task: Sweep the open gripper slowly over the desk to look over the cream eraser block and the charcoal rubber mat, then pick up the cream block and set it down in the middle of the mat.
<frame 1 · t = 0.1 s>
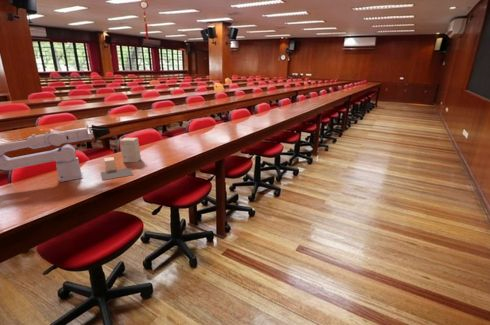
hand: (109, 129, 136), 22 cm above the table, tool horizontal, fingers open, 7 cm apart
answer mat: (116, 173, 138), on the table
small box: (132, 161, 158), on the table
eraser block: (110, 168, 145), on the table
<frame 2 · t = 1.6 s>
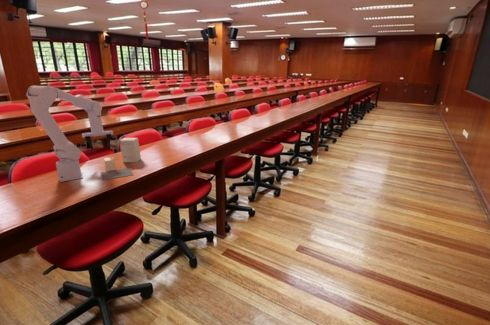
hand: (100, 149, 147), 9 cm above the table, tool pointing down, fingers open, 7 cm apart
nothing on the table moved.
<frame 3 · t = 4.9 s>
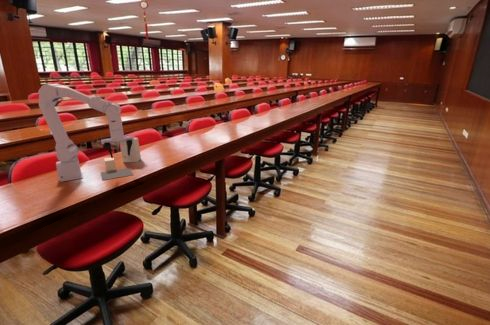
hand: (120, 156, 134), 9 cm above the table, tool pointing down, fingers open, 7 cm apart
nothing on the table moved.
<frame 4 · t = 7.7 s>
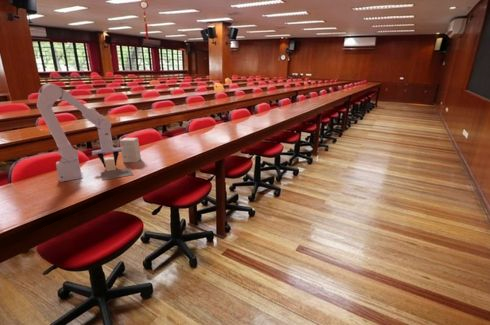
hand: (110, 166, 145), 1 cm above the table, tool pointing down, fingers closed on eraser block, 4 cm apart
eraser block: (110, 168, 145), on the table, touching gripper
everything else where it was.
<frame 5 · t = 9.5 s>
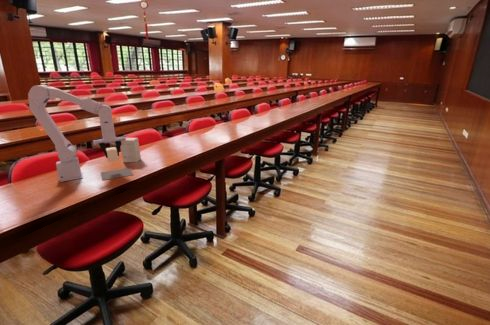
hand: (112, 156, 137), 8 cm above the table, tool pointing down, fingers closed on eraser block, 4 cm apart
eraser block: (112, 159, 138), point 7 cm above the table, touching gripper
everything else where it was.
when the fingers open (3 cm above the table, at t = 11.2 s): eraser block drops 1 cm, resting on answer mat.
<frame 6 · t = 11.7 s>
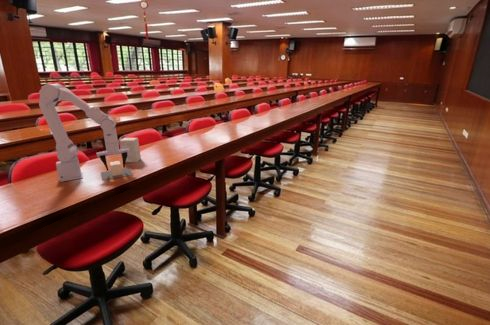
hand: (115, 168, 137), 3 cm above the table, tool pointing down, fingers open, 7 cm apart
eraser block: (116, 173, 138), resting on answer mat
everything else where it was.
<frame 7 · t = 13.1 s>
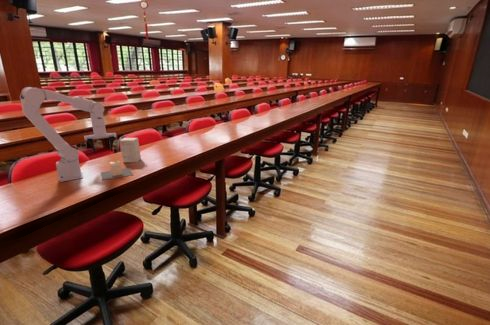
hand: (103, 151, 142), 9 cm above the table, tool pointing down, fingers open, 7 cm apart
nothing on the table moved.
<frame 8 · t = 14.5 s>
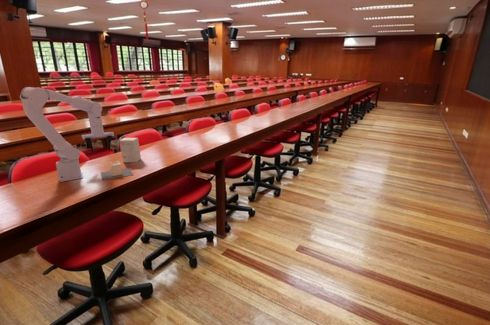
hand: (101, 150, 144), 9 cm above the table, tool pointing down, fingers open, 7 cm apart
nothing on the table moved.
at the end: eraser block inside the target area on the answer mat (0.2 cm from its centre), point 0.2 cm above the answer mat's base; eraser block tilted 0°; the gripper is holding nothing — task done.
